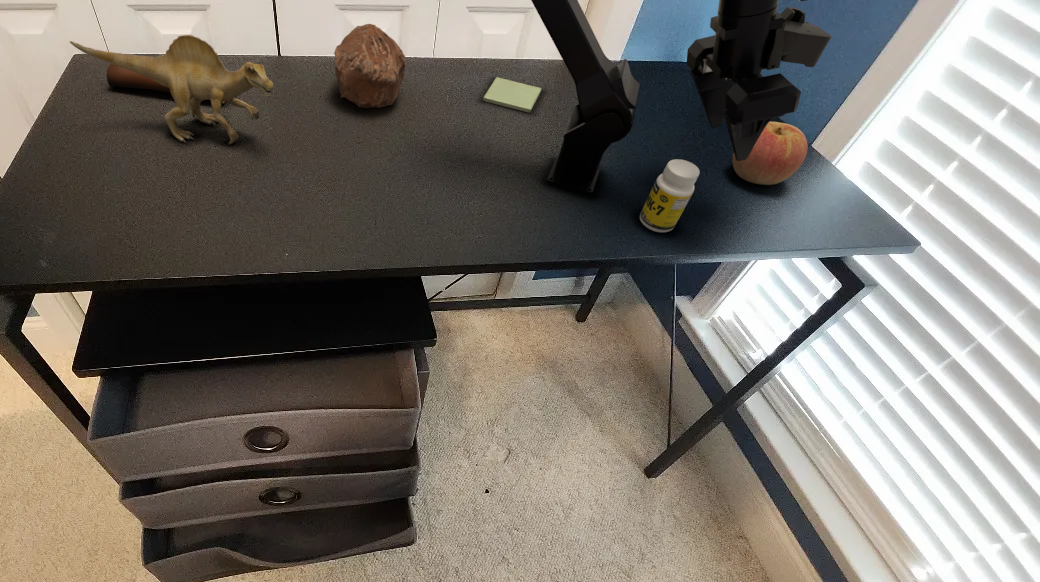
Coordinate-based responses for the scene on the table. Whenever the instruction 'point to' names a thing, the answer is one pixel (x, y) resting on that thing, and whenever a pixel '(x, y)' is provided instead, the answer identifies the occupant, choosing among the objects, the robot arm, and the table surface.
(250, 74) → the dinosaur figurine
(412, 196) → the table surface
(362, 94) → the decorative rock
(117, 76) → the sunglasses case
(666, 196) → the supplement bottle
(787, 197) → the table surface
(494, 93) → the mat
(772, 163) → the apple
